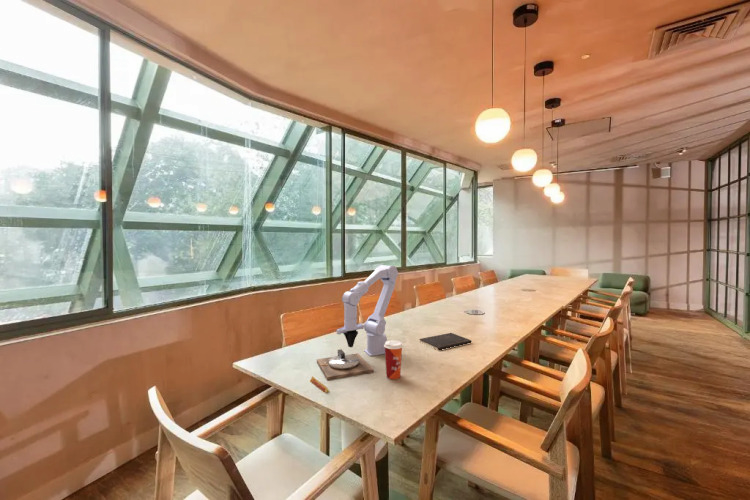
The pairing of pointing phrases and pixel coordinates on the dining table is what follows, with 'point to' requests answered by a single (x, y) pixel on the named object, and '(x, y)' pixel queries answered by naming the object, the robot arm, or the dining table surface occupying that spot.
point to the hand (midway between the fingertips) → (350, 346)
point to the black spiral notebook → (445, 341)
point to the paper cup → (393, 358)
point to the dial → (343, 361)
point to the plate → (337, 373)
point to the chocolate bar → (319, 385)
